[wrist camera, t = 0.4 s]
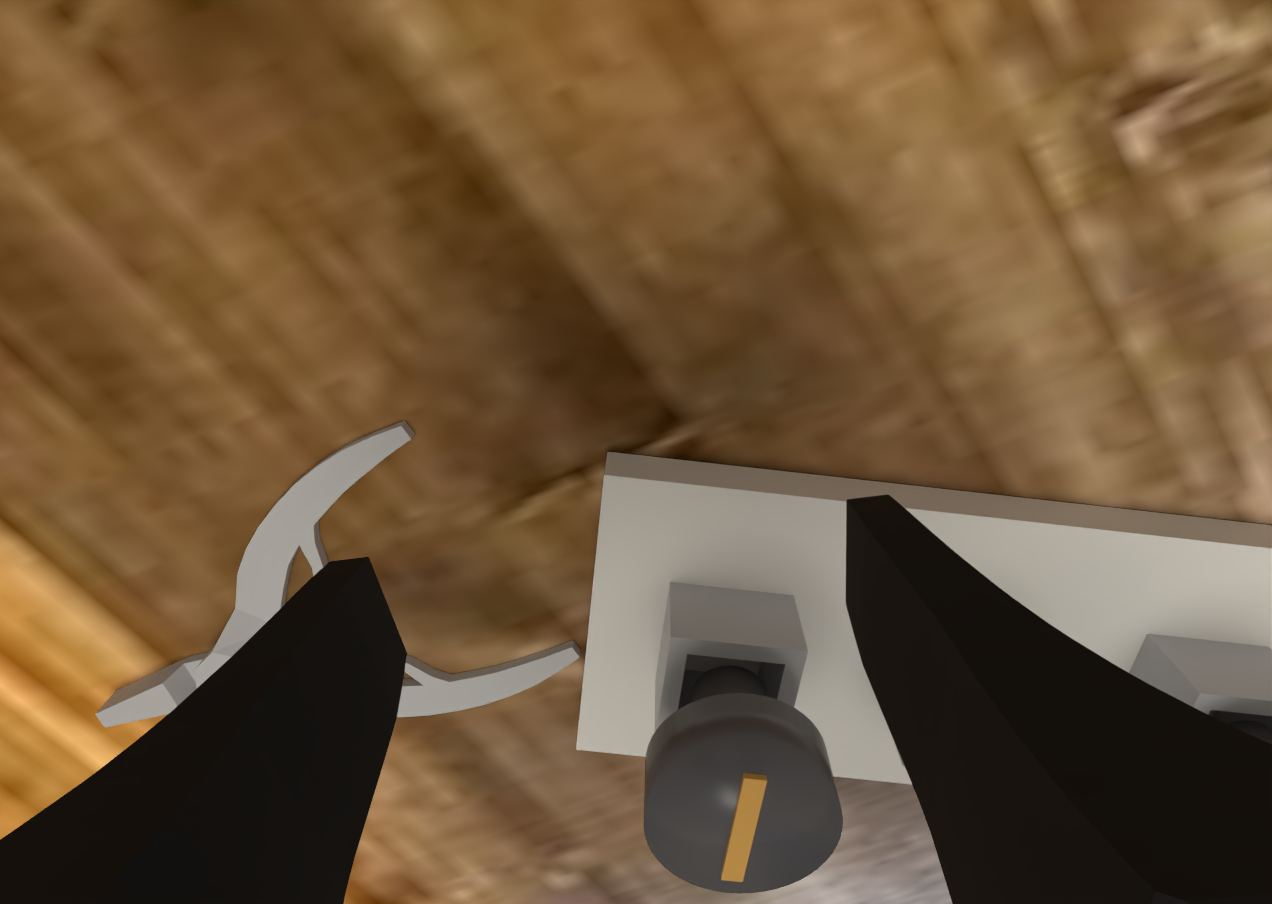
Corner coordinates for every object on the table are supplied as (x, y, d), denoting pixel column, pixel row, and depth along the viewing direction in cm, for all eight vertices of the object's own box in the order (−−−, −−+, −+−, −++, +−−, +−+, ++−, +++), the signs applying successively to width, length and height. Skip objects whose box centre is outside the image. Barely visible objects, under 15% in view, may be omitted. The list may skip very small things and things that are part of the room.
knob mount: (1213, 782, 27) (1297, 888, 24) (580, 716, 27) (567, 813, 23) (1354, 534, 23) (1483, 617, 20) (607, 451, 23) (597, 520, 19)
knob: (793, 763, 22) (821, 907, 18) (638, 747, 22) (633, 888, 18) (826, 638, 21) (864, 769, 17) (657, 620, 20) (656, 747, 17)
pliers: (581, 681, 25) (229, 842, 28) (585, 648, 26) (250, 805, 30) (385, 430, 21) (13, 649, 25) (403, 409, 23) (48, 618, 26)
